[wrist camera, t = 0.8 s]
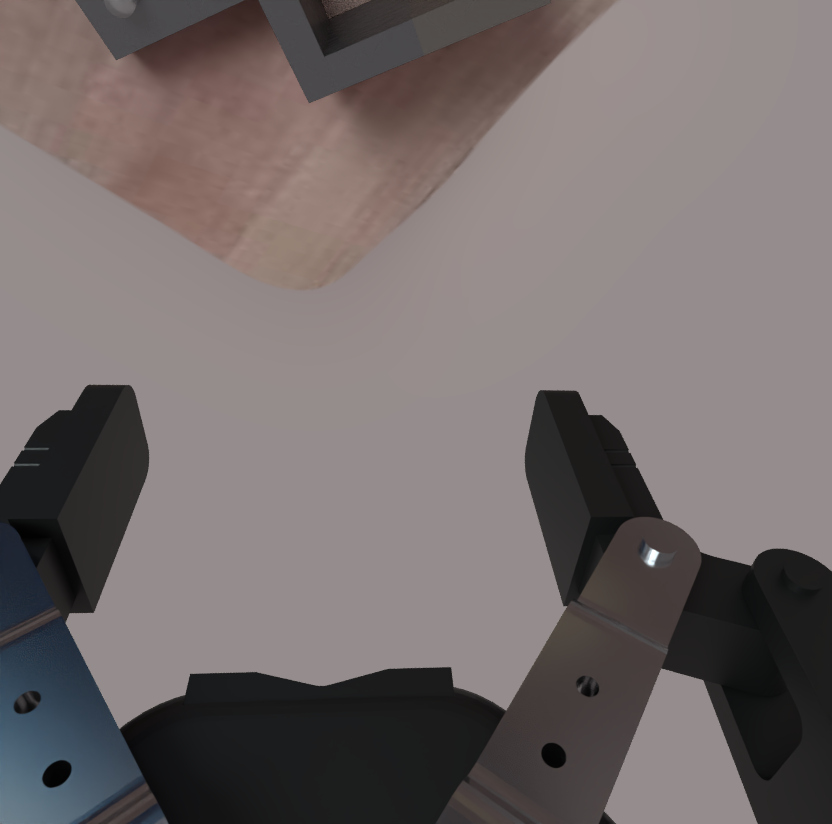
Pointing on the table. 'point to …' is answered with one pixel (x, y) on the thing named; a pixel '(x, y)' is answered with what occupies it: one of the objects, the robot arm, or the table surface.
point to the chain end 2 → (462, 18)
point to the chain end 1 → (279, 34)
